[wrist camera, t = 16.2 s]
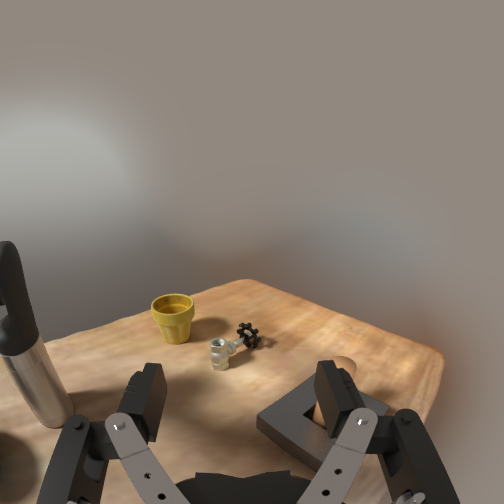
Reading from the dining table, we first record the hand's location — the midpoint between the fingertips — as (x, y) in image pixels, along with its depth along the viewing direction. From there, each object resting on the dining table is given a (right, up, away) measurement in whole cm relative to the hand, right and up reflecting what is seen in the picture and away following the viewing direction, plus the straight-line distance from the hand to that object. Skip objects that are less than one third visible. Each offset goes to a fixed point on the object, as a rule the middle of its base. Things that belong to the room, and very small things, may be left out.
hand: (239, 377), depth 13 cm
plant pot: (-18, -15, +52) cm, 57 cm away
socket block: (+13, -23, +25) cm, 37 cm away
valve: (-4, -17, +45) cm, 48 cm away
